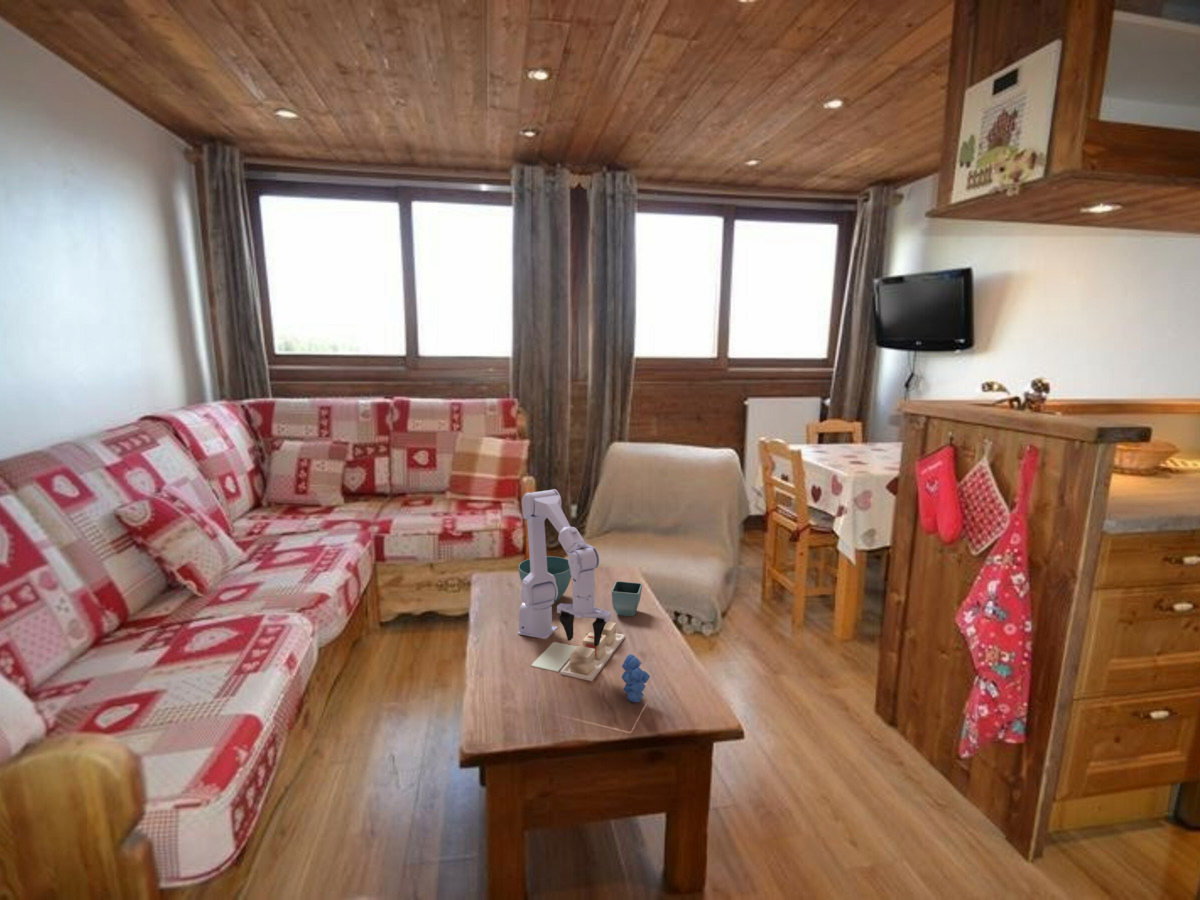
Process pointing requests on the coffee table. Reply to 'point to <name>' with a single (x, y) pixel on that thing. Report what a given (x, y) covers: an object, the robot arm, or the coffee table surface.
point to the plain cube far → (609, 633)
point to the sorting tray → (598, 663)
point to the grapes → (634, 678)
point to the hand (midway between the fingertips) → (583, 641)
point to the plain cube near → (582, 660)
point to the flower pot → (626, 597)
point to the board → (554, 657)
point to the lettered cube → (599, 649)
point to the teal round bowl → (552, 572)
